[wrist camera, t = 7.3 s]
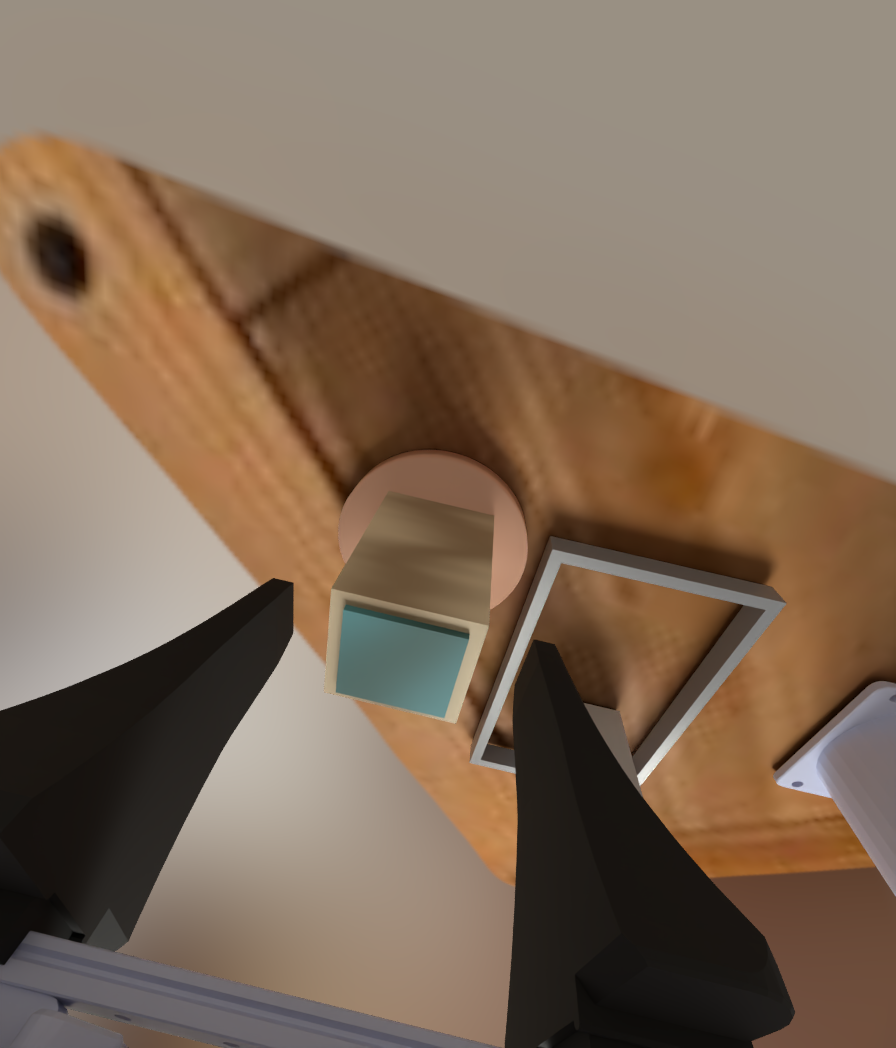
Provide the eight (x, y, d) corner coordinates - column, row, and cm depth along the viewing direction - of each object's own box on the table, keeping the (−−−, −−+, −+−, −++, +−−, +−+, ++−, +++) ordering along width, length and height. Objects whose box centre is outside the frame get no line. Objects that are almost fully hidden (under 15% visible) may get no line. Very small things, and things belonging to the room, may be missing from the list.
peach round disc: (551, 474, 15) (554, 485, 14) (500, 622, 19) (499, 638, 18) (353, 429, 15) (344, 438, 14) (341, 585, 19) (333, 599, 18)
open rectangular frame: (772, 586, 16) (786, 603, 16) (624, 781, 24) (628, 800, 23) (550, 535, 16) (552, 549, 16) (471, 745, 24) (469, 762, 23)
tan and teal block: (494, 515, 15) (488, 631, 10) (470, 597, 17) (455, 730, 12) (388, 490, 15) (328, 593, 10) (376, 575, 17) (321, 697, 12)
